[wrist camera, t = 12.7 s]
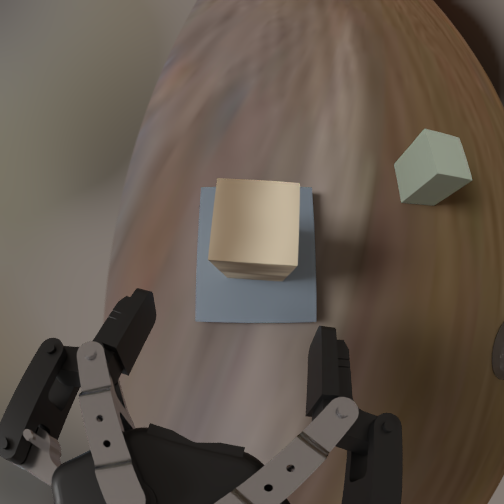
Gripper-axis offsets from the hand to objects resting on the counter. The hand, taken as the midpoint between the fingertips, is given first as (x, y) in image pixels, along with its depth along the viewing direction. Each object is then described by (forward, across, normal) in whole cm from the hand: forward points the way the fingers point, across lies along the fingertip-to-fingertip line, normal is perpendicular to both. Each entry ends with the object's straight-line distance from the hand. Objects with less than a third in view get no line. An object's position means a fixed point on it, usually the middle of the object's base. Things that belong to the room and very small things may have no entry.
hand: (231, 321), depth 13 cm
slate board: (+14, 0, +6) cm, 15 cm away
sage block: (+22, -17, -3) cm, 28 cm away
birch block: (+13, 0, +5) cm, 14 cm away
